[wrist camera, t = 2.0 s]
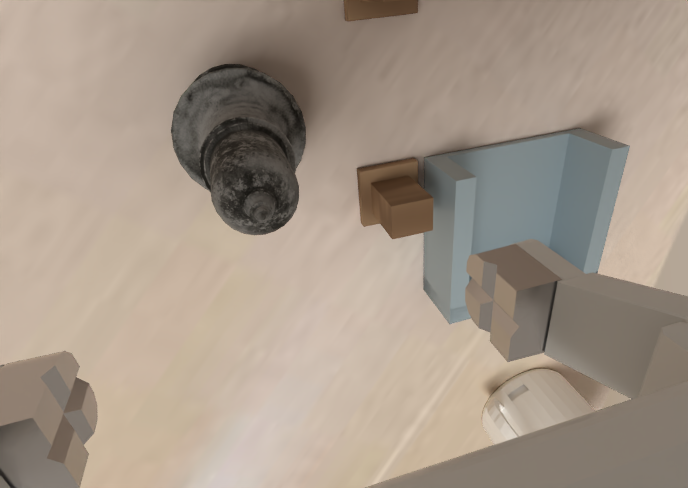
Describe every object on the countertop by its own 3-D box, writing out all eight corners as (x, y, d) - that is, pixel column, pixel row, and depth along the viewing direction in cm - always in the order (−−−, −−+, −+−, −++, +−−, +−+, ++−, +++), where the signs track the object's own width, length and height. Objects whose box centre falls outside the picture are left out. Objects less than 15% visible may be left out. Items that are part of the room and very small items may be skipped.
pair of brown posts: (338, -68, 20) (365, -81, 17) (412, -74, 21) (452, -88, 17) (360, 222, 28) (382, 254, 24) (414, 211, 28) (442, 240, 25)
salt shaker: (264, 37, 21) (319, 76, 11) (309, 146, 24) (383, 253, 14) (151, 86, 21) (102, 171, 11) (211, 190, 24) (217, 330, 14)
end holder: (424, 157, 27) (456, 181, 23) (580, 128, 29) (629, 146, 25) (423, 289, 32) (449, 324, 28) (555, 256, 34) (594, 285, 30)
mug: (577, 389, 44) (658, 474, 36) (508, 444, 45) (571, 538, 38) (522, 338, 38) (606, 428, 30) (445, 405, 39) (505, 507, 31)
